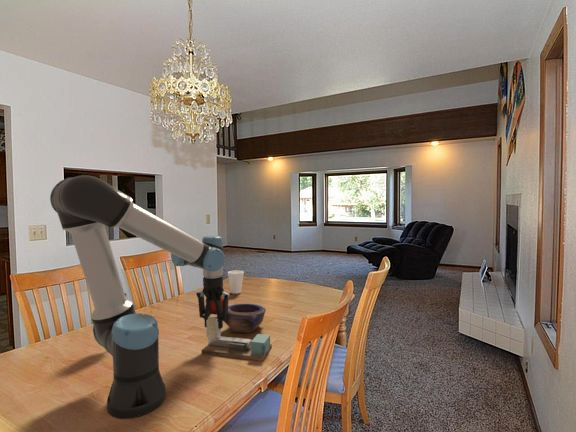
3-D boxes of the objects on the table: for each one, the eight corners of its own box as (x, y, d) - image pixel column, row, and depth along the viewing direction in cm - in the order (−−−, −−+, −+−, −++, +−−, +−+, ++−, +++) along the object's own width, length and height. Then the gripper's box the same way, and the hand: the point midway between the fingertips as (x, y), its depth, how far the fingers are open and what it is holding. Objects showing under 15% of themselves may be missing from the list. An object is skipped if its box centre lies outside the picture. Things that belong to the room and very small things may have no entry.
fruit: (203, 313, 162) (203, 294, 162) (212, 307, 172) (212, 289, 171) (221, 315, 160) (220, 295, 160) (228, 309, 169) (228, 290, 169)
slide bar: (249, 349, 119) (248, 320, 119) (208, 345, 123) (208, 316, 123) (251, 346, 122) (251, 317, 122) (211, 341, 126) (211, 314, 126)
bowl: (270, 323, 149) (270, 302, 148) (256, 339, 132) (256, 315, 131) (235, 319, 154) (234, 299, 153) (217, 334, 136) (216, 311, 136)
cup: (247, 292, 201) (247, 271, 201) (236, 296, 193) (236, 274, 192) (235, 289, 207) (235, 269, 206) (224, 293, 198) (224, 272, 198)
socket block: (264, 355, 116) (264, 343, 115) (251, 353, 117) (251, 341, 117) (270, 346, 122) (270, 335, 122) (257, 345, 124) (257, 333, 123)
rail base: (262, 360, 114) (262, 351, 114) (201, 353, 120) (201, 343, 120) (271, 347, 124) (271, 338, 124) (215, 340, 130) (215, 332, 130)
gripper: (236, 275, 125) (237, 334, 126) (198, 272, 129) (199, 330, 130) (228, 279, 118) (229, 342, 119) (188, 277, 122) (189, 337, 123)
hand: (213, 335), depth 124 cm, fingers closed on slide bar, 3 cm apart
